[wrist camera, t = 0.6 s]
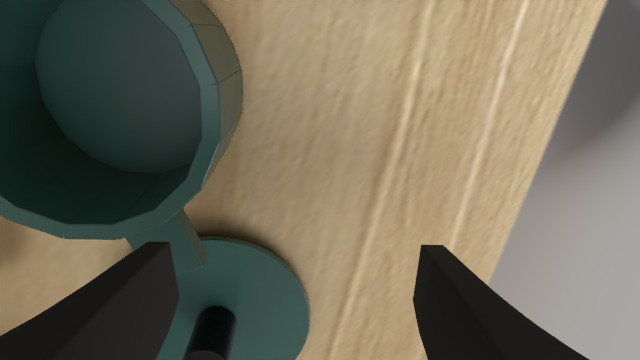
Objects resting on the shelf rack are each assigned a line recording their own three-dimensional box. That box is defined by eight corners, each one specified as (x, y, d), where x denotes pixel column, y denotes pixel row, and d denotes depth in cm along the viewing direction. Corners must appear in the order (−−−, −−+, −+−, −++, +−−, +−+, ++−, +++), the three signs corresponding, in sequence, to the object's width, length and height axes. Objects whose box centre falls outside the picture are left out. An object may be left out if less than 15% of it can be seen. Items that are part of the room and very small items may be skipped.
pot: (124, 247, 23) (62, 324, 17) (-60, -47, 17) (-251, -89, 11) (292, 187, 22) (290, 245, 16) (156, -140, 16) (74, -239, 10)
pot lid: (180, 397, 27) (157, 466, 23) (92, 267, 23) (44, 321, 19) (333, 347, 26) (340, 409, 22) (269, 204, 22) (262, 245, 18)
